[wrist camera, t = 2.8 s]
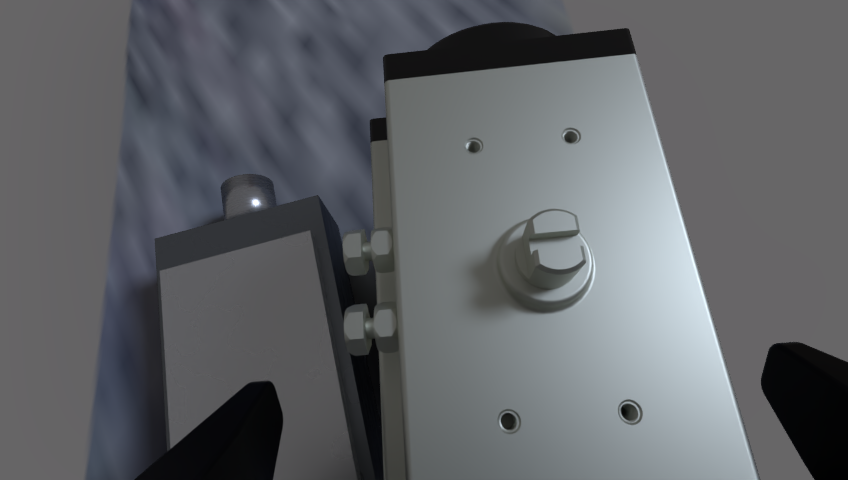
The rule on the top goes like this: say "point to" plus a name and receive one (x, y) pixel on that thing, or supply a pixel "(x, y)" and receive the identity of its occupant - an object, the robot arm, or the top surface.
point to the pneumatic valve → (536, 272)
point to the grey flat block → (268, 330)
